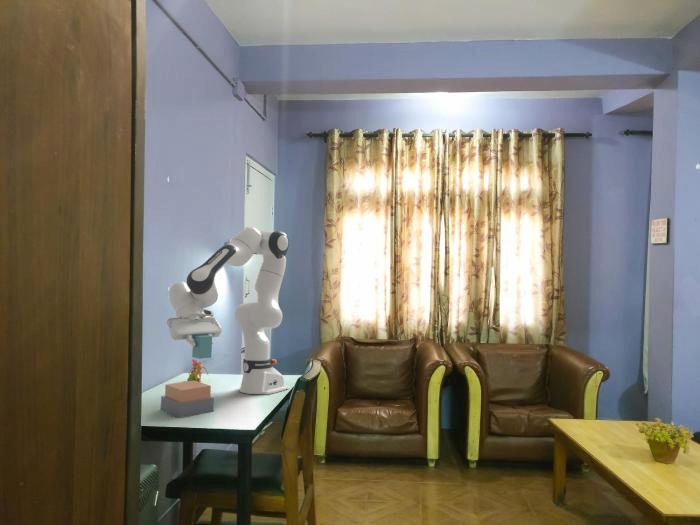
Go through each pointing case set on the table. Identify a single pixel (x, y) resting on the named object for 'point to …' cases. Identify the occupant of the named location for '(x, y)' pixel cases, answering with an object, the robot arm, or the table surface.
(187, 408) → the brick tower
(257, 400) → the table surface
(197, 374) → the figurine
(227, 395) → the table surface
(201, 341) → the teal brick
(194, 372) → the bird rattle
